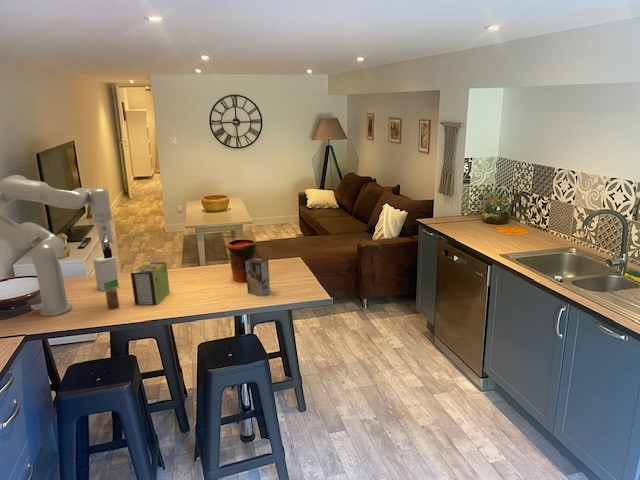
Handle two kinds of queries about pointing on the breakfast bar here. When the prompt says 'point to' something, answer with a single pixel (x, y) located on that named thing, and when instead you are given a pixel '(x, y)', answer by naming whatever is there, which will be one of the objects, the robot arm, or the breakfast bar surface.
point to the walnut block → (112, 298)
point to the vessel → (240, 258)
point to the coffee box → (257, 276)
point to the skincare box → (106, 273)
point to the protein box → (150, 283)
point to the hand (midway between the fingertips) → (107, 255)
